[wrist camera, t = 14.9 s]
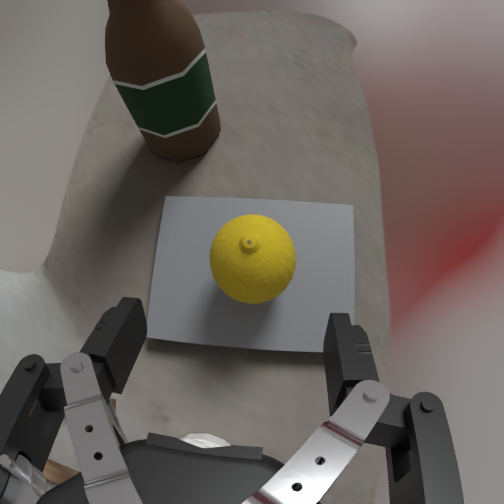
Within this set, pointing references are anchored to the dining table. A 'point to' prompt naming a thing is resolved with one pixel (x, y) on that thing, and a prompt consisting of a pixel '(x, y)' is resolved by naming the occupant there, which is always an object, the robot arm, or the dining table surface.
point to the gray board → (239, 313)
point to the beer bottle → (163, 75)
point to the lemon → (252, 259)
